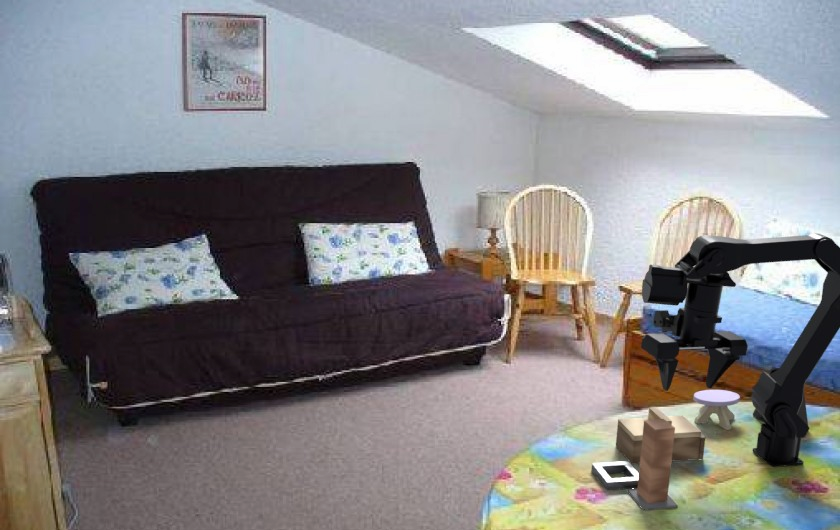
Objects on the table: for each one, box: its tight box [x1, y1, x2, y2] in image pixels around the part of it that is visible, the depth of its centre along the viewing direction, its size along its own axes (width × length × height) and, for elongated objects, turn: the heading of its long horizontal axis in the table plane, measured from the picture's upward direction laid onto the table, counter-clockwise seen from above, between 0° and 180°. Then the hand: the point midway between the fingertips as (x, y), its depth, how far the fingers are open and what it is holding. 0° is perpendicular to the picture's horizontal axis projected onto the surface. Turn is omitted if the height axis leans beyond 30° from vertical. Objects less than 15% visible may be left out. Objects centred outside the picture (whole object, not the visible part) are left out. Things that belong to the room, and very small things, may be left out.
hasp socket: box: [591, 460, 639, 491], centre depth 135 cm, size 7×7×2 cm
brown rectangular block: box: [637, 419, 675, 503], centre depth 128 cm, size 4×4×13 cm
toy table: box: [693, 389, 741, 431], centre depth 159 cm, size 10×9×6 cm
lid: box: [617, 406, 702, 441], centre depth 144 cm, size 13×7×3 cm, turn 100°
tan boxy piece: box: [615, 424, 706, 465], centre depth 145 cm, size 14×7×4 cm, turn 100°
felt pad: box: [626, 488, 679, 511], centre depth 129 cm, size 6×6×1 cm
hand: (687, 388), depth 142 cm, fingers open, 9 cm apart
